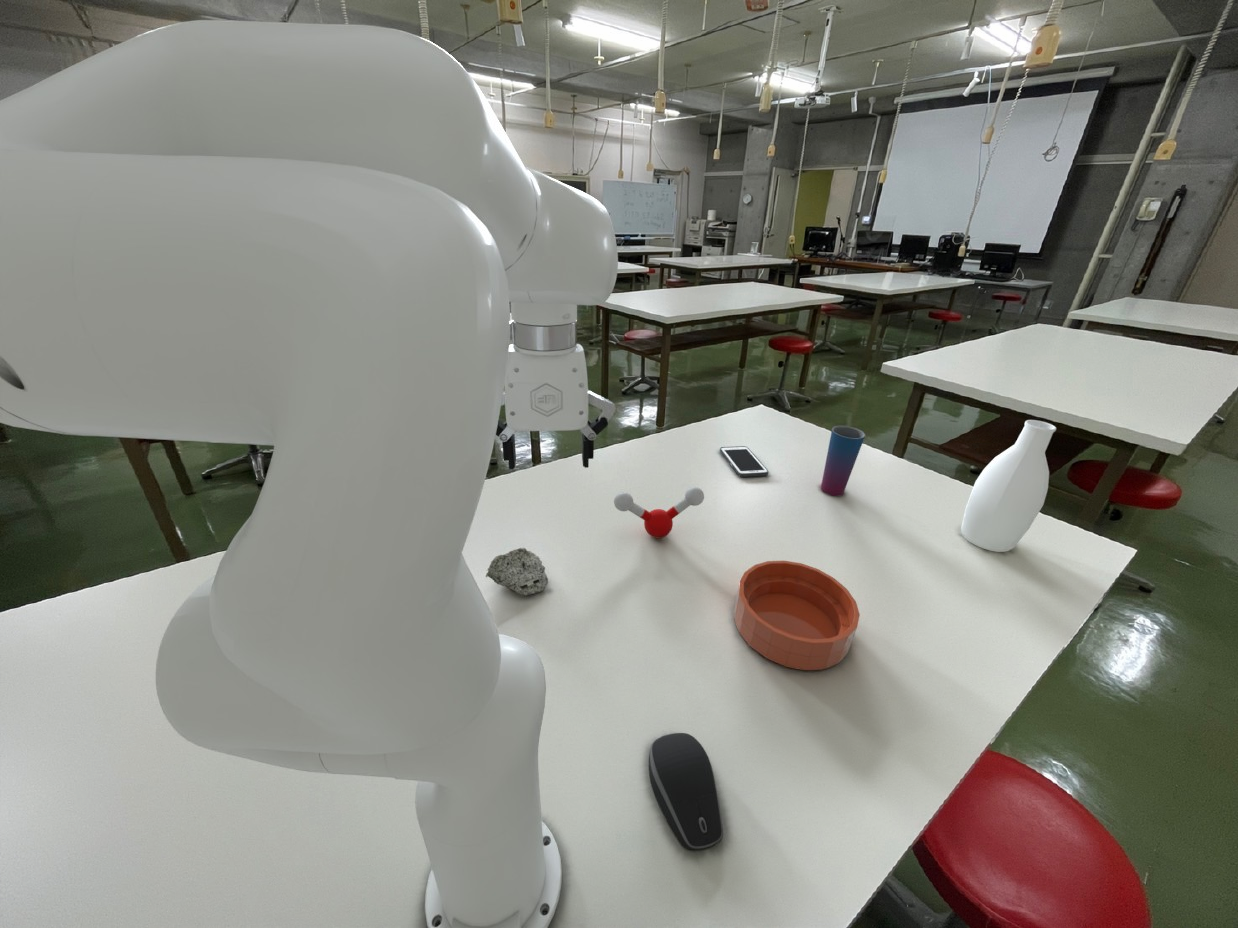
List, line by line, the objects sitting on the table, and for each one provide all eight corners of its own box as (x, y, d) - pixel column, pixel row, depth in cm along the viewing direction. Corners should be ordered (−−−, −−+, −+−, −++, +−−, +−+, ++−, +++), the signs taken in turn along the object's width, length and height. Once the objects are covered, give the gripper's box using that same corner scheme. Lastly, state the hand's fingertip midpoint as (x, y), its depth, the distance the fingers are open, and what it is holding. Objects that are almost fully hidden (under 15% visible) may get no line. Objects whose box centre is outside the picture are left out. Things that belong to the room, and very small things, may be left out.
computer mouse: (674, 861, 50) (678, 841, 48) (638, 746, 60) (640, 725, 58) (737, 841, 52) (743, 821, 50) (691, 733, 62) (695, 712, 60)
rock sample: (527, 595, 77) (509, 543, 79) (494, 612, 80) (477, 561, 82) (567, 584, 86) (549, 537, 88) (535, 599, 89) (519, 553, 91)
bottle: (965, 550, 98) (1020, 432, 85) (946, 519, 107) (993, 409, 95) (1029, 561, 95) (1094, 441, 83) (1004, 528, 105) (1060, 416, 93)
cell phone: (745, 449, 134) (746, 445, 133) (769, 476, 121) (770, 472, 120) (718, 450, 132) (719, 447, 132) (739, 477, 120) (739, 474, 119)
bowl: (871, 668, 72) (883, 639, 69) (755, 676, 70) (762, 646, 67) (817, 585, 87) (825, 558, 84) (720, 589, 85) (725, 562, 82)
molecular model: (691, 520, 103) (696, 478, 99) (703, 536, 98) (710, 493, 94) (610, 532, 99) (612, 489, 94) (618, 550, 94) (620, 505, 89)
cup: (810, 486, 118) (825, 428, 111) (831, 480, 120) (847, 423, 113) (832, 500, 112) (849, 440, 105) (854, 494, 115) (872, 435, 108)
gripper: (464, 342, 54) (479, 479, 62) (621, 343, 56) (616, 475, 64) (474, 327, 61) (486, 452, 69) (614, 328, 63) (610, 450, 71)
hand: (549, 463), depth 67 cm, fingers open, 9 cm apart
